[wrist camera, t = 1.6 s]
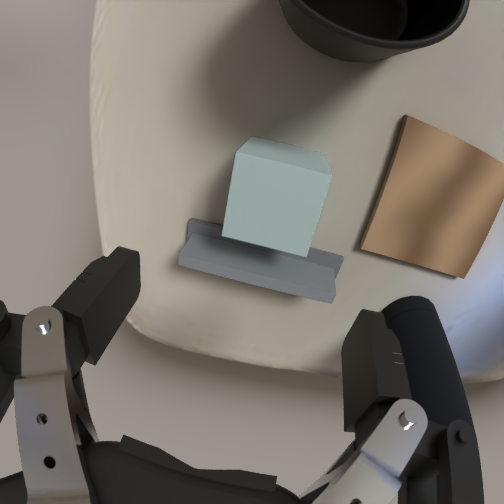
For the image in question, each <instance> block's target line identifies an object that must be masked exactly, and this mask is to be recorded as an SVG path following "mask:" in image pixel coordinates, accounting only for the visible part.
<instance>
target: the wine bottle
mask: <svg viewBox="0 0 504 504" xmlns="http://www.w3.org/2000/svg"><path fill="white" fill-rule="evenodd" d="M382 314H383V315H384V318H385V322H386V326H387V329H391V330H392V331H393V332H394V334H395V335H396V337H397V338H398V340H399V342H400V346H401V350H402V355H403V358H404V365H405V367H406V372H407V377H408V381H409V386H410V391H411V397H412V400H413V401H415V402H416V403H418V404H419V405H420V406H421V407H422V408H423V410H424V411H425V413H426V416H427V420H430V421H432V422H435V423H437V424H440V425H443V426H446V427H447V426H448V425H449V424H450V423H452V422H453V421H455V420H464V421H466V422H467V423H469V424H470V425H471V426H472V428H473V429H474V425H473V421H472V417H471V413H470V409H469V405H468V402H467V398H466V395H465V391H464V388H463V384H462V381H461V378H460V375H459V372H458V369H457V365H456V362H455V360H454V357H453V354H452V351H451V348H450V345H449V343H448V340H447V337H446V334H445V332H444V329H443V327H442V324H441V322H440V319H439V317H438V314H437V312H436V309H435V307H434V304H433V303H432V302H431V301H430V300H429V299H426V298H424V297H421V296H409V297H404V298H401V299H399V300H397V301H395V302H392V303H391V304H390V305H389V306H388V307H386V308H385V309H384V310H383V312H382ZM474 431H475V430H474ZM436 481H437V504H439V501H440V479H439V474H438V475H436Z"/></svg>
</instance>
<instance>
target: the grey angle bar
mask: <svg viewBox="0 0 504 504" xmlns="http://www.w3.org/2000/svg"><path fill="white" fill-rule="evenodd" d="M222 231H223V226H222V225H218V224H214V223H210V222H206V221H201V220H197V219H193V218H191V219H190V220H189V223H188V233H187V243H186V244H185V246H184V247H183V248H182V250H181V251H180V253H179V256H178V265H180V266H184V267H188V268H191V269H195V270H199V271H202V272H206V273H210V274H214V275H217V276H221V277H225V278H229V279H233V280H237V281H241V282H244V283H248V284H252V285H256V286H260V287H264V288H268V289H272V290H276V291H280V292H284V293H288V294H292V295H297V296H301V297H305V298H309V299H313V300H317V301H322V302H326V303H330V304H332V302H333V299H334V297H335V295H336V288H335V279H336V276H337V274H338V271H339V269H340V267H341V264H342V262H343V256H340V255H337V254H333V253H329V252H325V251H321V250H317V249H314V248H309V251H308V254H307V257H304V256H300V255H296V254H292V253H288V252H284V251H280V250H276V249H272V248H268V247H264V246H261V245H257V244H253V243H249V242H245V241H241V240H237V239H233V238H229V237H225V236H222Z"/></svg>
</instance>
